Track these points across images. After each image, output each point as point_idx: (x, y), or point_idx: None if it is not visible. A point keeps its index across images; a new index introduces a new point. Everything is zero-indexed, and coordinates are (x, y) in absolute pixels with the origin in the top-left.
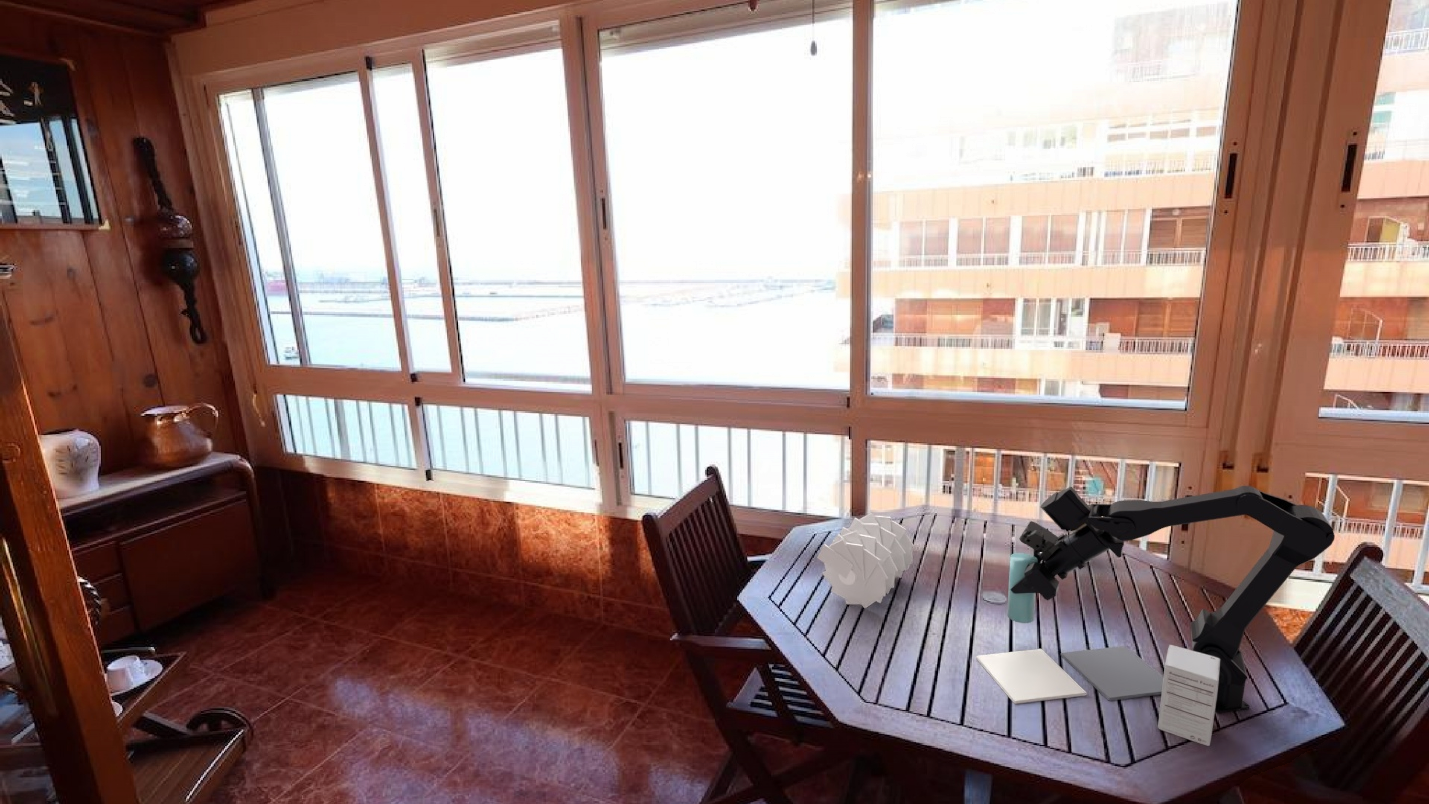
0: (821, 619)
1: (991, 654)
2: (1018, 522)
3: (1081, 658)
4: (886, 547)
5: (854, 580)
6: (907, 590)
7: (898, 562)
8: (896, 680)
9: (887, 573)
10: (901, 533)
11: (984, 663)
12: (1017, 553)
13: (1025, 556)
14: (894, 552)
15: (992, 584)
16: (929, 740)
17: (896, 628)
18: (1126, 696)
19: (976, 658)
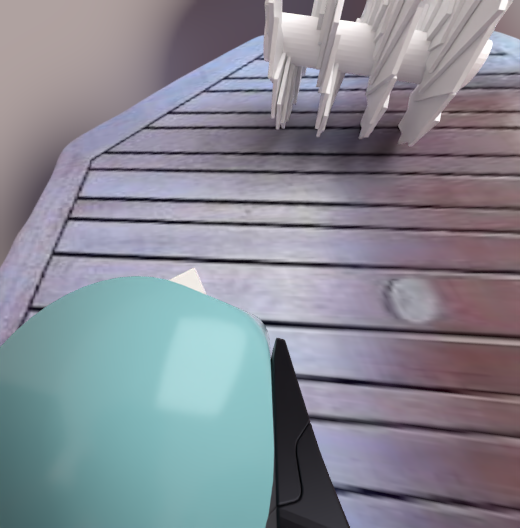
0: (242, 96)
1: (202, 289)
2: None
3: None
4: (392, 35)
5: (264, 52)
6: (363, 168)
7: (378, 97)
8: (131, 182)
9: (320, 90)
10: (479, 23)
11: (175, 279)
12: (242, 364)
13: (167, 480)
14: (389, 62)
15: (467, 297)
16: (28, 223)
17: (247, 168)
18: None
19: (195, 269)
